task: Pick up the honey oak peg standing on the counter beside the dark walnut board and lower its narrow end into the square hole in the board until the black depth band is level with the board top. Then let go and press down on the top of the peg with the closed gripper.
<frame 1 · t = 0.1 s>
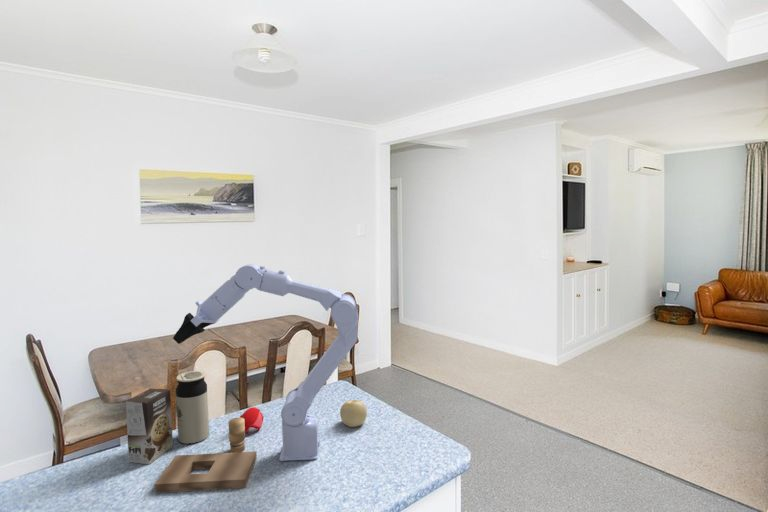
hand: (182, 336, 110), 32 cm above the kitchen counter, tool tilted 50°, fingers open, 7 cm apart
coffee box: (151, 454, 115), on the kitchen counter
travel mug: (194, 438, 123), on the kitchen counter
walnut board: (209, 474, 105), on the kitchen counter
oak peg: (237, 449, 116), on the kitchen counter
cap: (250, 430, 127), on the kitchen counter
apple: (353, 424, 131), on the kitchen counter
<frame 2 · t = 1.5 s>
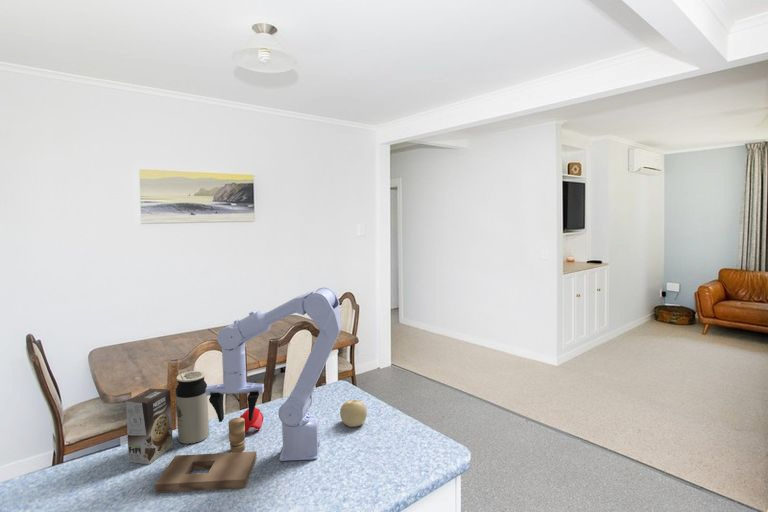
hand: (236, 419, 116), 8 cm above the kitchen counter, tool pointing down, fingers open, 7 cm apart
nothing on the kitchen counter moved.
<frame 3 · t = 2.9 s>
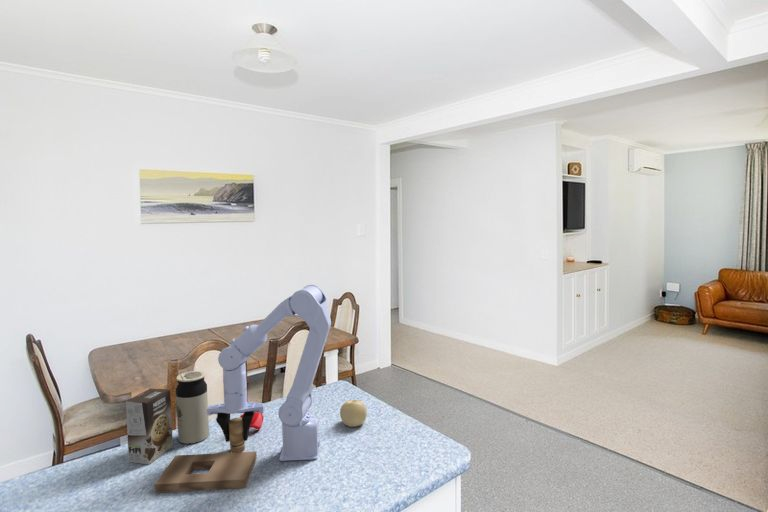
hand: (237, 439, 116), 3 cm above the kitchen counter, tool pointing down, fingers closed on oak peg, 4 cm apart
oak peg: (237, 449, 116), on the kitchen counter, touching gripper
everything else where it was.
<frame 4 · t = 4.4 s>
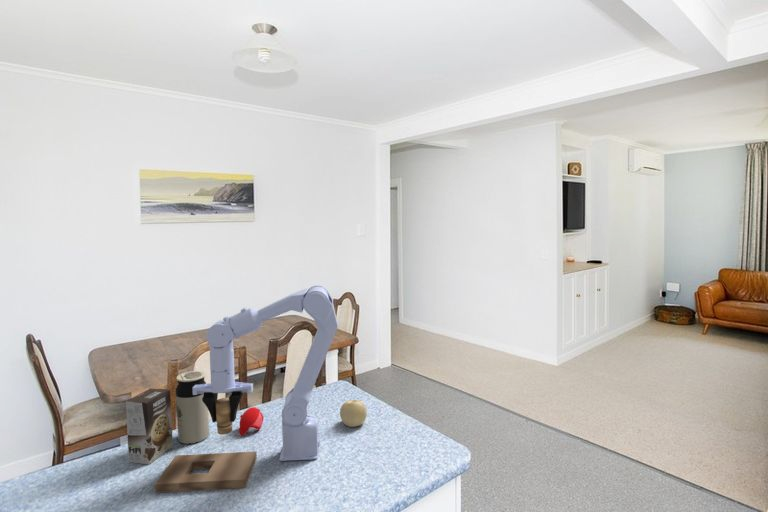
hand: (224, 420, 112), 10 cm above the kitchen counter, tool pointing down, fingers closed on oak peg, 4 cm apart
oak peg: (224, 431, 112), point 7 cm above the kitchen counter, touching gripper
everything else where it was.
when the fingers open (3 cm above the kitchen counter, at t = 6.9 s): oak peg stays where it is, resting in walnut board.
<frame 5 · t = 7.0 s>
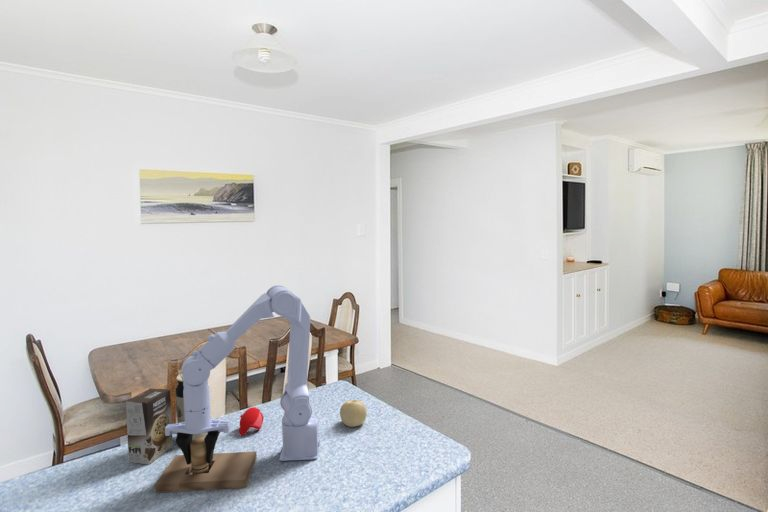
hand: (199, 461, 105), 3 cm above the kitchen counter, tool pointing down, fingers open, 4 cm apart
oak peg: (200, 473, 105), resting in walnut board
everything else where it was.
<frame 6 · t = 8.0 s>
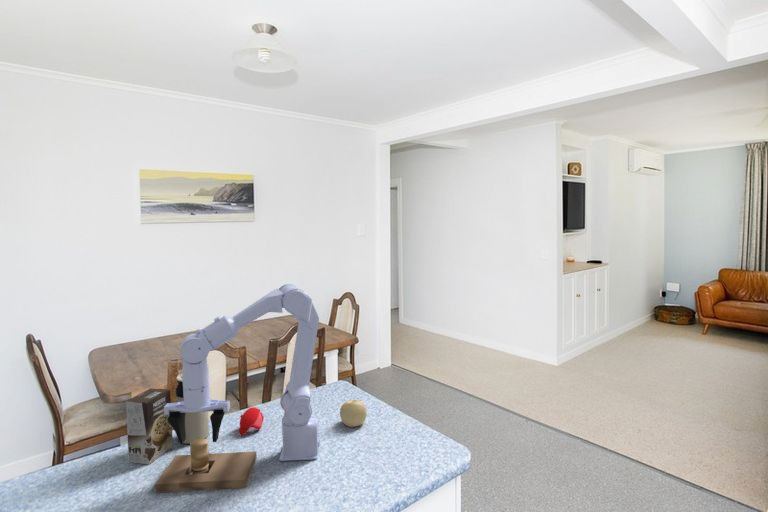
hand: (199, 440, 104), 9 cm above the kitchen counter, tool pointing down, fingers open, 7 cm apart
oak peg: (200, 474, 105), resting in walnut board
everything else where it was.
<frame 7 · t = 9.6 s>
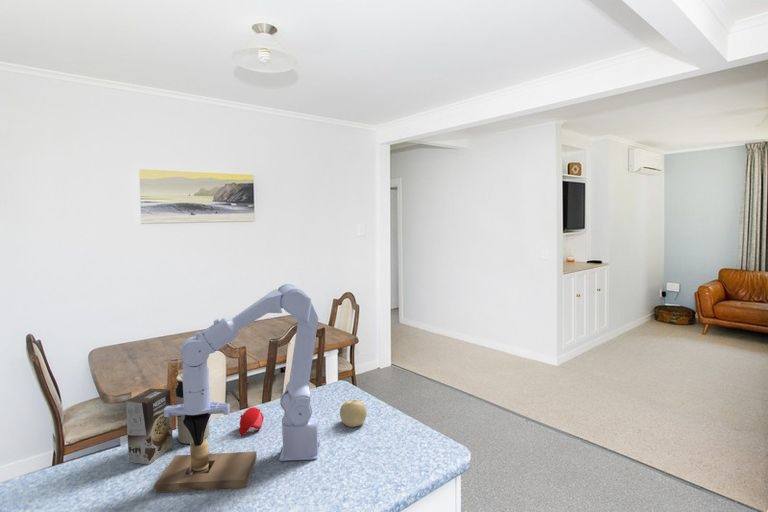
hand: (199, 443, 104), 8 cm above the kitchen counter, tool pointing down, fingers closed, pressing on oak peg
oak peg: (200, 475, 105), resting in walnut board, touching gripper
everything else where it was.
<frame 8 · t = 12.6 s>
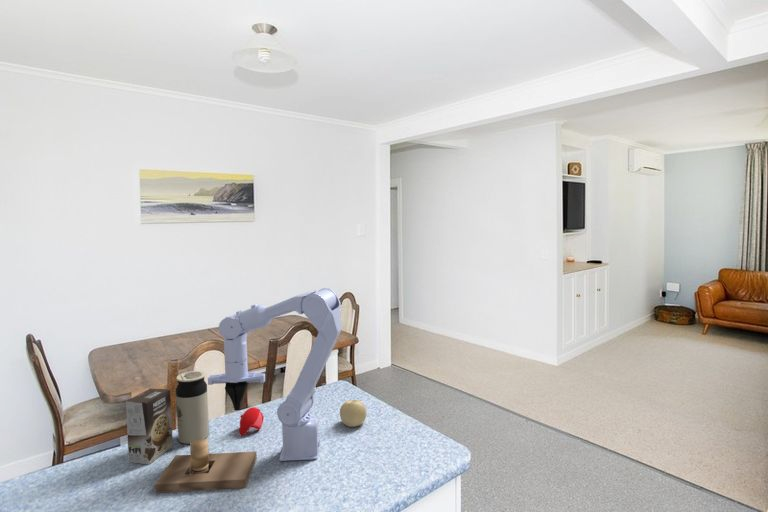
hand: (238, 408, 117), 10 cm above the kitchen counter, tool pointing down, fingers closed
oak peg: (200, 474, 105), resting in walnut board
everything else where it was.
at the end: oak peg 0.1 cm from the target spot on the walnut board, point 0.0 cm above the walnut board's base; oak peg tilted 0°; the gripper is holding nothing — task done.
